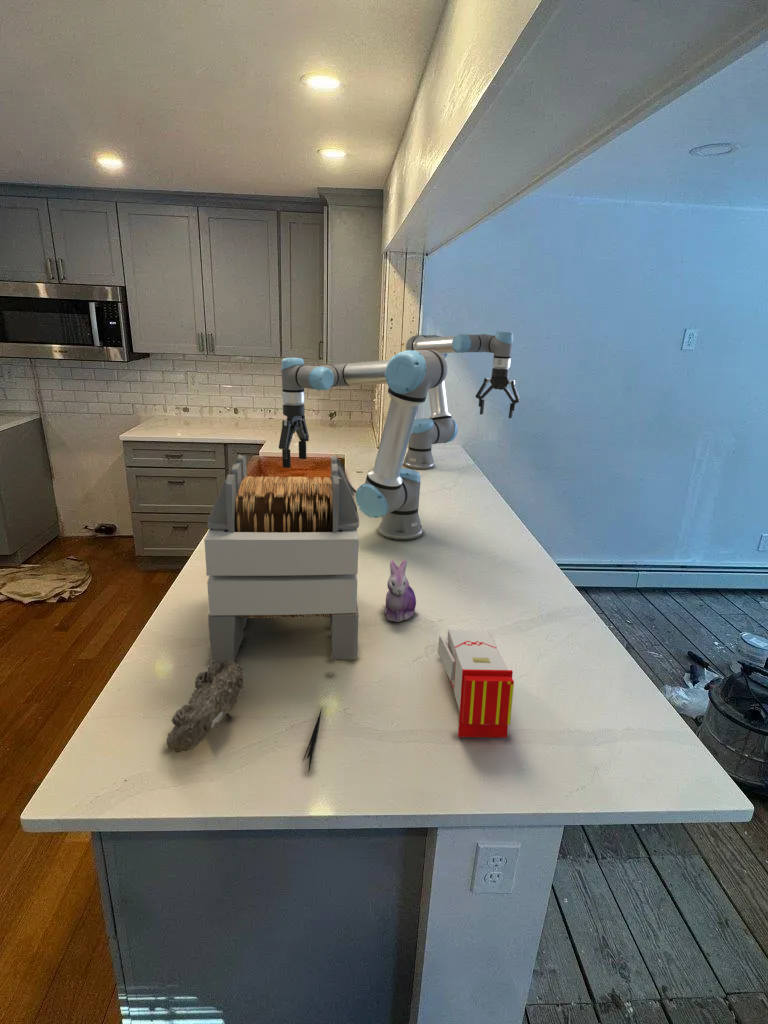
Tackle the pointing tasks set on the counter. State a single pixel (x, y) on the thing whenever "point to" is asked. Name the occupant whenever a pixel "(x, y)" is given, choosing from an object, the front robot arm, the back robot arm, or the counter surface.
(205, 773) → the counter surface
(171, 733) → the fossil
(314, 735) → the feather
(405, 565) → the figurine
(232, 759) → the counter surface
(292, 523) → the record crate
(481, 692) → the toy
